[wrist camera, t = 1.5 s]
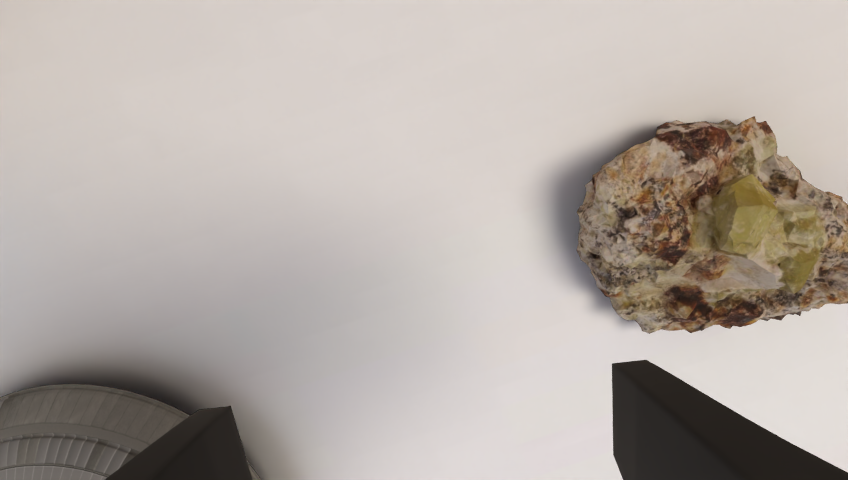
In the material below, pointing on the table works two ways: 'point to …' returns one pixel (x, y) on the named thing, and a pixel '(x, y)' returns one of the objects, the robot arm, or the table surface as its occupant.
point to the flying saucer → (78, 431)
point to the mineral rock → (712, 230)
